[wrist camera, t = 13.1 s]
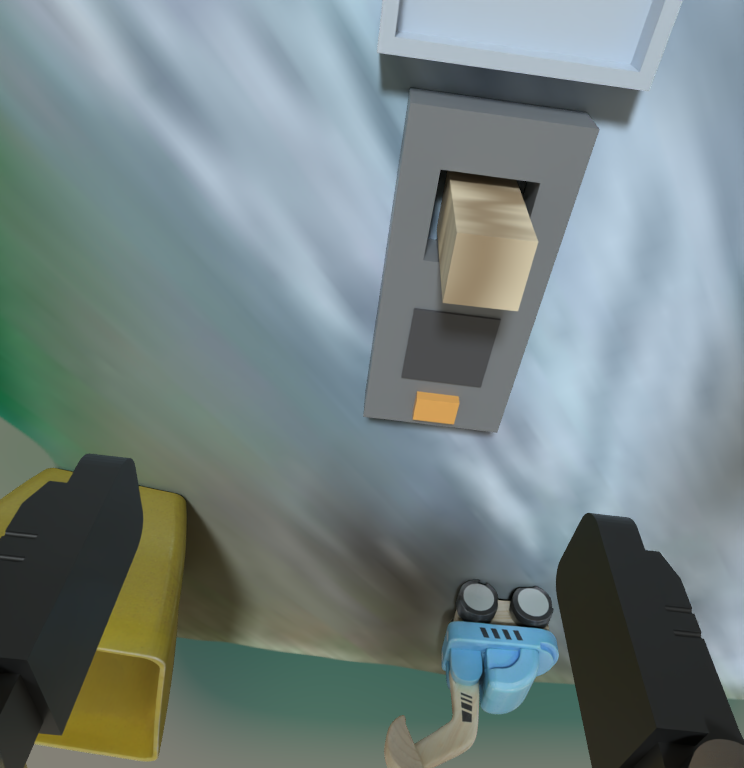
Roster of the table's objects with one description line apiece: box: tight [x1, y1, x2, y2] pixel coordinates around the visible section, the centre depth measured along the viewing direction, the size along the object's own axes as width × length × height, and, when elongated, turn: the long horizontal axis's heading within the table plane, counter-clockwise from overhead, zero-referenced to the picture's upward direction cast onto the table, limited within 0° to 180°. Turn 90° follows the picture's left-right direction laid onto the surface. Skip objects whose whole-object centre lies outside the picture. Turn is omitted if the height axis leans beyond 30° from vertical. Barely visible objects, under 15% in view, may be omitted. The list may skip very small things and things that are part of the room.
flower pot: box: [0, 468, 187, 761], centre depth 54 cm, size 19×19×17 cm
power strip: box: [363, 88, 599, 433], centre depth 40 cm, size 10×22×4 cm, turn 173°
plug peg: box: [437, 170, 538, 311], centre depth 35 cm, size 4×4×9 cm
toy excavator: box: [384, 580, 559, 768], centre depth 59 cm, size 9×17×17 cm, turn 86°
